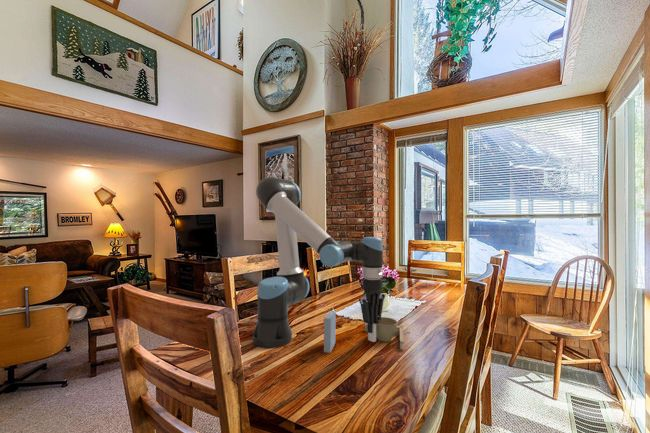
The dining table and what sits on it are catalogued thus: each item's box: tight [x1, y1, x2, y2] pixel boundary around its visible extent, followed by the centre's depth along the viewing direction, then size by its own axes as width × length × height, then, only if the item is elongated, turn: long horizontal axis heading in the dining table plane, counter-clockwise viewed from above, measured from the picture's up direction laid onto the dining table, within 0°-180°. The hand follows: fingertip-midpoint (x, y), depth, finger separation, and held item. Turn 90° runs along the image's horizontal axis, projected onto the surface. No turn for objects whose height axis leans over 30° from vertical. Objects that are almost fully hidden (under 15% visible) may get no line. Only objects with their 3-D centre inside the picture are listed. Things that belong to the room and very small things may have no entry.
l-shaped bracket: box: [364, 323, 405, 351], centre depth 117 cm, size 16×16×3 cm
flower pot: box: [376, 316, 398, 342], centre depth 117 cm, size 10×10×7 cm
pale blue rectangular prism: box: [323, 310, 337, 354], centre depth 109 cm, size 2×9×12 cm, turn 166°
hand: (372, 340), depth 112 cm, fingers closed
